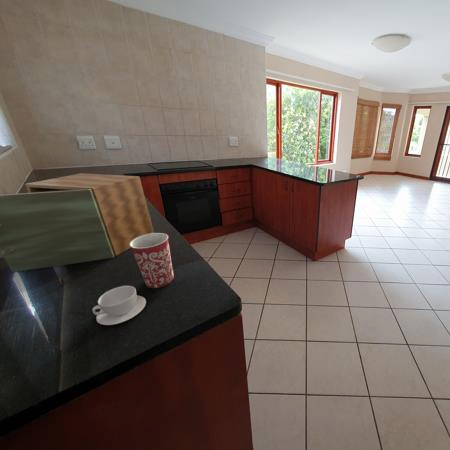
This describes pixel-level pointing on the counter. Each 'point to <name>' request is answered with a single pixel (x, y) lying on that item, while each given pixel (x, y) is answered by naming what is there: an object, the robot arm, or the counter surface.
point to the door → (51, 229)
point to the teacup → (118, 305)
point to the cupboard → (109, 203)
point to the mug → (153, 259)
